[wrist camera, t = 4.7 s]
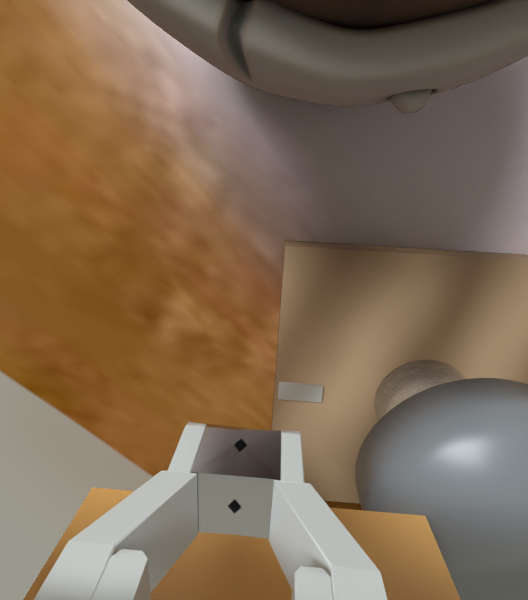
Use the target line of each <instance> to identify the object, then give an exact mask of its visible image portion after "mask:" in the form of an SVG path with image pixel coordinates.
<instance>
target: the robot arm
mask: <svg viewBox="0 0 528 600" xmlns="http://www.w3.org/2000/svg"><path fill="white" fill-rule="evenodd" d="M198 532H202V533H218V534H234V535H242V536H250V537H258V538H266V539H269V542H270V544H271V547H272V549H273V551H274V553H275V555H276V557H277V559H278V562H279V564H280V566H281V568H282V570H283V572H284V574H285V576H286V579H287V581H288V583H289V585H290V587H291V589H292V595H291V600H387V596H386V592H385V588H384V584H383V580H382V576H381V572H380V571H379V570H378V568H377V567H376V566H375V564H374V563H373V562H372V561H371V559H370V558H369V557H368V556H367V554H366V553H365V552H364V551H363V549H362V548H361V547H360V545H359V544H358V543H357V542H356V540H355V539H354V538H353V537H352V535H351V534H350V533H349V532H348V530H347V529H346V528H345V526H344V525H343V524H342V523H341V521H340V520H339V519H338V518H337V516H336V515H335V514H334V513H333V511H332V510H331V509H330V507H329V506H328V505H327V504H326V502H325V501H324V500H323V499H322V497H321V496H320V495H319V494H318V492H317V491H316V490H315V488H314V487H313V486H312V485H311V484H309V483H305V482H304V467H303V453H302V439H301V433H300V431H286V430H281V431H280V430H267V429H254V428H242V427H233V426H223V425H214V424H201V423H192V422H188V424H187V425H186V426H185V428H184V431H183V433H182V436H181V438H180V441H179V443H178V446H177V448H176V451H175V453H174V456H173V458H172V461H171V463H170V466H169V468H168V471H160V472H159V473H158V474H156V475H155V476H154V477H152V478H151V479H150V480H148V481H147V482H146V483H144V484H143V485H142V486H140V487H139V488H138V489H137V490H135V491H134V492H133V493H131V494H130V495H129V496H127V497H126V498H125V499H123V500H122V501H121V502H119V503H118V504H117V505H116V506H114V507H113V508H112V509H110V510H109V511H108V512H106V513H105V514H104V515H102V516H101V517H100V518H98V519H97V520H96V521H94V522H93V523H92V524H91V525H89V526H88V527H87V528H85V529H84V530H83V531H81V532H80V533H79V534H77V535H76V536H75V537H73V538H72V539H71V540H69V541H68V543H67V544H66V546H65V548H64V549H63V551H62V553H61V554H60V556H59V558H58V560H57V561H56V563H55V565H54V566H53V568H52V570H51V571H50V573H49V575H48V576H47V578H46V580H45V581H44V583H43V585H42V586H41V588H40V590H39V591H38V593H37V595H36V596H35V598H34V600H151V592H152V591H153V590H154V588H155V587H156V586H157V585H158V583H159V582H160V581H161V580H162V578H163V577H164V576H165V575H166V574H167V572H168V571H169V570H170V569H171V567H172V566H173V565H174V564H175V562H176V561H177V560H178V559H179V558H180V556H181V555H182V554H183V553H184V551H185V550H186V549H187V548H188V546H189V545H190V544H191V543H192V542H193V540H194V539H195V538H196V537H197V535H198Z"/></svg>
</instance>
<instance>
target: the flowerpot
mask: <svg viewBox="0 0 528 600" xmlns="http://www.w3.org/2000/svg"><path fill="white" fill-rule="evenodd" d="M128 1H129V2H130V3H131V4H132V5H133V6H134V7H135V8H137V9H138V10H139V11H140V12H141V13H143V14H144V15H145V16H146V17H148V18H149V19H150V20H151V21H152V22H154V23H155V24H156V25H158V26H159V27H160V28H162V29H163V30H164V31H165V32H167V33H168V34H169V35H171V36H172V37H173V38H175V39H176V40H177V41H179V42H180V43H182V44H183V45H184V46H186V47H187V48H188V49H190V50H191V51H193V52H194V53H196V54H197V55H198V56H200V57H201V58H203V59H204V60H206V61H207V62H209V63H210V64H212V65H213V66H215V67H216V68H218V69H219V70H221V71H222V72H224V73H226V74H228V75H229V76H231V77H233V78H235V79H236V80H238V81H240V82H242V83H244V84H247V85H249V86H251V87H253V88H256V89H258V90H261V91H264V92H268V93H271V94H275V95H279V96H283V97H288V98H292V99H297V100H301V101H306V102H311V103H316V104H323V105H329V106H340V107H350V106H363V105H370V104H377V103H384V102H393V104H394V105H395V107H396V108H397V109H398V110H399V111H401V112H403V113H413V112H416V111H418V110H420V109H421V108H422V107H423V106H424V105H425V103H426V102H427V100H428V98H429V96H430V95H432V94H435V93H439V92H443V91H446V90H449V89H452V88H455V87H458V86H461V85H463V84H466V83H469V82H471V81H474V80H476V79H478V78H481V77H483V76H486V75H488V74H490V73H492V72H495V71H497V70H499V69H502V68H504V67H506V66H508V65H510V64H512V63H514V62H516V61H518V60H520V59H522V58H524V57H526V56H528V0H128Z"/></svg>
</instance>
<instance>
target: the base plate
mask: <svg viewBox="0 0 528 600" xmlns="http://www.w3.org/2000/svg"><path fill="white" fill-rule="evenodd" d="M417 360H436V361H440V362H444V363H446V364H449V365H451V366H452V367H454V368H455V369H457V370H458V371H459V372H460V373H461V374H462V375H463V376H464V377H465V379H473V378H499V379H507V380H513V381H517V382H521V383H525V384H528V255H520V254H503V253H487V252H470V251H453V250H436V249H420V248H403V247H386V246H369V245H352V244H336V243H319V242H302V241H285V248H284V262H283V276H282V290H281V304H280V318H279V332H278V346H277V360H276V373H275V387H274V401H273V415H272V429H271V430H280V431H281V430H286V431H300V433H301V439H302V453H303V467H304V482H305V483H309V484H311V485H312V486H313V487H314V488H315V490H316V491H317V492H318V494H319V495H320V496H321V497H322V499H323V500H324V501H335V502H347V503H359V504H360V501H359V497H358V493H357V488H356V484H355V465H356V460H357V456H358V453H359V450H360V448H361V446H362V443H363V441H364V439H365V438H366V436H367V435H368V433H369V432H370V430H371V429H372V428H373V427H374V425H375V424H376V423H377V422H378V421H379V419H378V417H377V414H376V411H375V407H374V399H375V394H376V391H377V388H378V386H379V385H380V383H381V382H382V380H383V379H384V378H385V377H386V376H387V375H388V374H389V373H390V372H392V371H393V370H394V369H396V368H398V367H399V366H401V365H404V364H406V363H409V362H413V361H417Z"/></svg>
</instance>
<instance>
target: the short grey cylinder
mask: <svg viewBox="0 0 528 600" xmlns="http://www.w3.org/2000/svg"><path fill="white" fill-rule="evenodd" d="M462 379H465V377H464V376H463V375H462V374H461V373H460V372H459V371H458V370H457V369H455V368H454V367H452V366H451V365H449V364H446V363H444V362H440V361H436V360H417V361H413V362H409V363H406V364H404V365H401V366H399V367H398V368H396V369H394V370H393V371H392V372H390V373H389V374H388V375H387V376H386V377H385V378H384V379H383V380H382V382H381V383H380V385H379V386H378V388H377V391H376V394H375V399H374V407H375V411H376V414H377V417H378V419H379V420H380V419H381V418H382V417H383V416H384V415H385V414H386V413H387V412H388V411H390V410H391V409H392V408H394V407H395V406H396V405H398V404H399V403H401V402H402V401H404V400H406V399H407V398H409V397H411V396H413V395H415V394H417V393H419V392H421V391H424V390H426V389H428V388H431V387H434V386H437V385H440V384H444V383H447V382H452V381H457V380H462Z"/></svg>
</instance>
